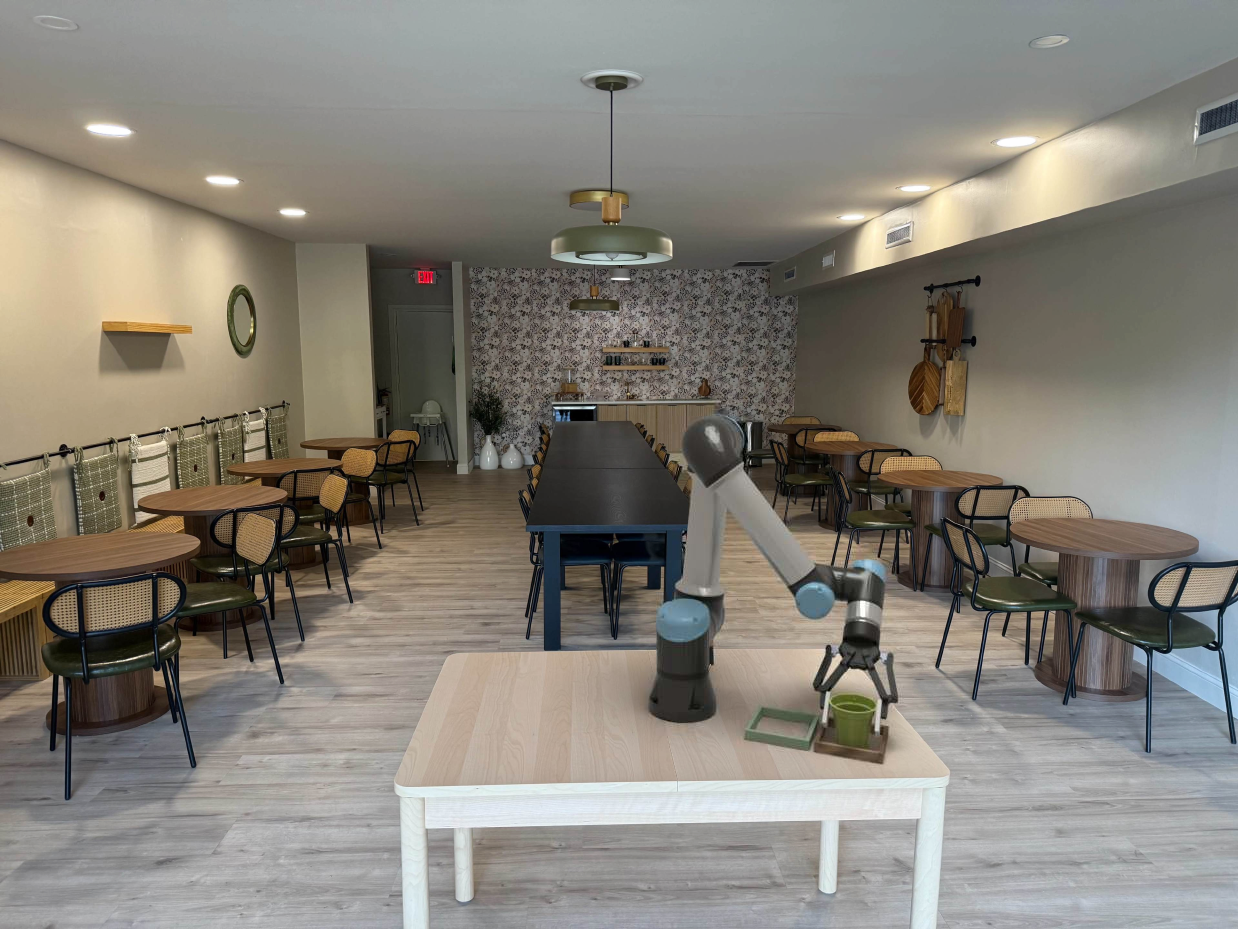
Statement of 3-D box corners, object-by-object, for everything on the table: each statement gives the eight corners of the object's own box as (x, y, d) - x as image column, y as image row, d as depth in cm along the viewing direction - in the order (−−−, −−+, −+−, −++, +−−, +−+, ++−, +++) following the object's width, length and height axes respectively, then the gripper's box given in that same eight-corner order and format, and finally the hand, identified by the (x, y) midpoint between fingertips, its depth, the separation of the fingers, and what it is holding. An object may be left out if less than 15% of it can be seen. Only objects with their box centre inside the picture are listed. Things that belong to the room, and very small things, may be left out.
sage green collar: (744, 739, 165) (744, 730, 165) (759, 713, 177) (759, 705, 177) (808, 750, 160) (808, 741, 160) (819, 723, 172) (819, 714, 171)
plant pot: (818, 741, 164) (819, 700, 163) (847, 728, 169) (849, 689, 168) (856, 759, 156) (857, 716, 155) (886, 745, 162) (887, 704, 161)
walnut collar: (813, 751, 159) (814, 742, 159) (824, 724, 171) (824, 715, 171) (882, 764, 154) (882, 754, 154) (888, 735, 166) (888, 726, 166)
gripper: (917, 642, 170) (909, 746, 158) (812, 629, 179) (796, 727, 166) (917, 625, 165) (909, 731, 152) (808, 613, 173) (792, 712, 161)
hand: (850, 729), depth 159 cm, fingers closed on plant pot, 9 cm apart
